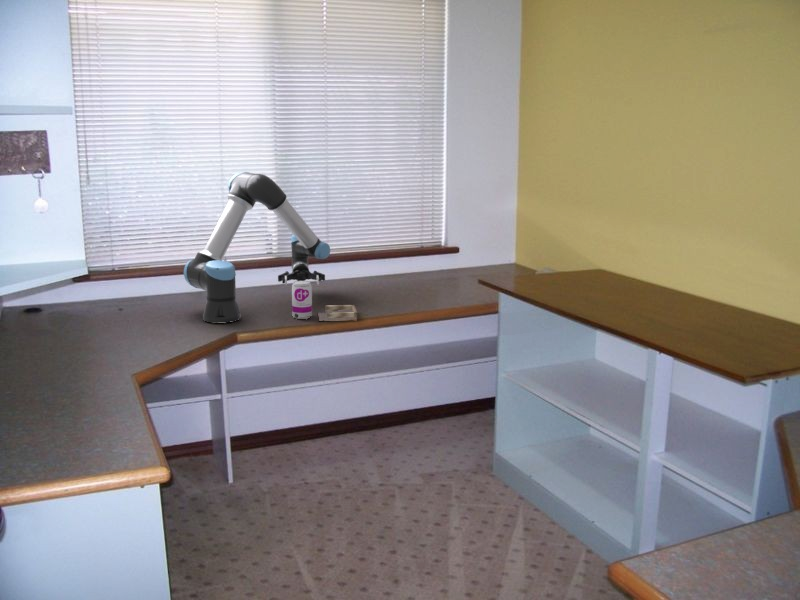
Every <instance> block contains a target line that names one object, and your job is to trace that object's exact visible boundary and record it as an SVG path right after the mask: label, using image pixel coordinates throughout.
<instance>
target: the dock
mask: <svg viewBox="0 0 800 600" xmlns="http://www.w3.org/2000/svg"><path fill="white" fill-rule="evenodd" d="M338 310H352V312H332V313H327V318H344V317H357V318H358V311H357V309H356V306H355V304H343V305H342V304H338V305H337V304H333V305H325V310H324V311H325V312H326V311H338Z"/></svg>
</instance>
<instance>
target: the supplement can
mask: <svg viewBox="0 0 800 600" xmlns="http://www.w3.org/2000/svg"><path fill="white" fill-rule="evenodd" d="M291 311H292V312H291V315H292V316H293V317H292V318H294V317H296V318H305V317H310V316H312V317H313V286H312V284H311V281H310V280H309V281H308V280H305V281H297V280H294V281H293V282H292V285H291Z"/></svg>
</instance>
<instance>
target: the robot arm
mask: <svg viewBox="0 0 800 600" xmlns="http://www.w3.org/2000/svg"><path fill="white" fill-rule="evenodd" d="M227 188H228V193H227V199H228V202H227V204H226V206H225V208H224V209H223V212H222V214H221V215H220V217H219V219H218V221H217V223H216V225H215V227H214V229H213V231H212V233H211V234H210V236H209V238H208V239H207V243H206V244H205V246H204V248H203V249H202V250H200V251H198V252H197V253H196V255H195V257H194V258H192V259H190V260H188V261H187V262H186V263H185V265H184V268H183V276H184V279H185V281H186V282H187V283H188V285H190V286H192V287H193V288H195V289H201V290H203V291H205V292H206V293H205V295H206V296H205V297H206V301H205V302H206V303H205V305H204V310H203V313H202V321H203V320H204V321H203V322H205V321H208V322H230V321H235V320H238V319H240V318H241V319H242V315H241V314H242V313H241V310H240V308H239V306H238V302H237V297H236V295H237V293H236V287H237V286H236V275H237V274H236V267H235V265H234V264H233V263H231V261H230V262H229V261H226V260H224V259H223V258H224V257H225V255H226V252H227V251H228V249H229V247H230V245H231V243H232V240H233V239H234V237H235V235H236V233H237V231H238V229H239V227H240V225H241V223H242V222H243V219H244V217H245V216H246V214H247V212H248V211H250V210H252V209H253V208H254V206H255V204H256V202H257V203H259V204H262V205H264V206H265V207H266V209H268V211H273V212H274V214H275V216H277V218H279V220H280V221H281V222H282V223H283V224H284V226H285V227H286V228H287V229H288V230H289V232H290V233H292V234H291V239H290V240H291V242H290V243H291V271H292V272H291V273H290V272H289V271H285V272H284V273H281V274H279V275H277V281H278V282H279V283H280V282H282V284H284V286H287V285H288V281H293V280H294V281H308V280H309V281H310V280H314V281H316V284H317V285H320V282H322V281H326V275H325V274H324V273H321V272H319V271H317V270H313V271H312V272H311V271H310V268H309V257H310V258H315V259H318V260H319V259H321V260H325V259H327V258H328V257H329V255H330V254H331V247H330V245H329V244H328V243H327V242H325V241H322V240H321V239H320V238H319V237H318V236H317V234H316V233H315V232H314V231H313V230H312V229H311V227H310V226H309V225H308V224H307V222H306V221H305V220H304V219H303V217H302V216H301V215H300V214H299V213H298V212H297V210H296V209H295V207H293V205H292V204H291V203H290V202H289V200H288V199H287V197H288V196H287V194H286V193H285V192H284V190H282V188H281V187H280V186H279V185H278V184H277V183H276V182H275V181H274V180H273V179H272V178H271V177H269V176H267V175H266V174H261V173H253V172H247V171H245V172H239V173H238V172H237V173H235V174H233V176H232V177H231V178H230V179H229V181H228V186H227ZM241 319H240V320H241Z"/></svg>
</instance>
